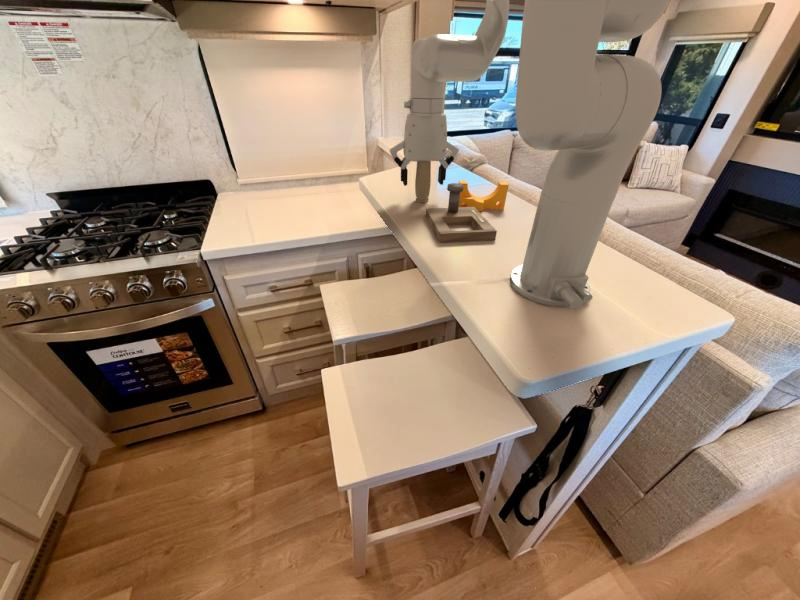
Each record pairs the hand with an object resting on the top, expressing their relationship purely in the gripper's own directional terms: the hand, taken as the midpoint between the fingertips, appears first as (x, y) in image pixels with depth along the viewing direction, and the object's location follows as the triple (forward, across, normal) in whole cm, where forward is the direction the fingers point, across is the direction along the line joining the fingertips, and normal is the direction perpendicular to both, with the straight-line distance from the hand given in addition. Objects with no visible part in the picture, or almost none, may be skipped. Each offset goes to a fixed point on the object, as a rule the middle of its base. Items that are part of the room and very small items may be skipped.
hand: (422, 183), depth 85 cm
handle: (+5, 0, 0) cm, 5 cm away
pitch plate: (+5, +5, -18) cm, 19 cm away
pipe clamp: (+6, +14, -6) cm, 16 cm away
